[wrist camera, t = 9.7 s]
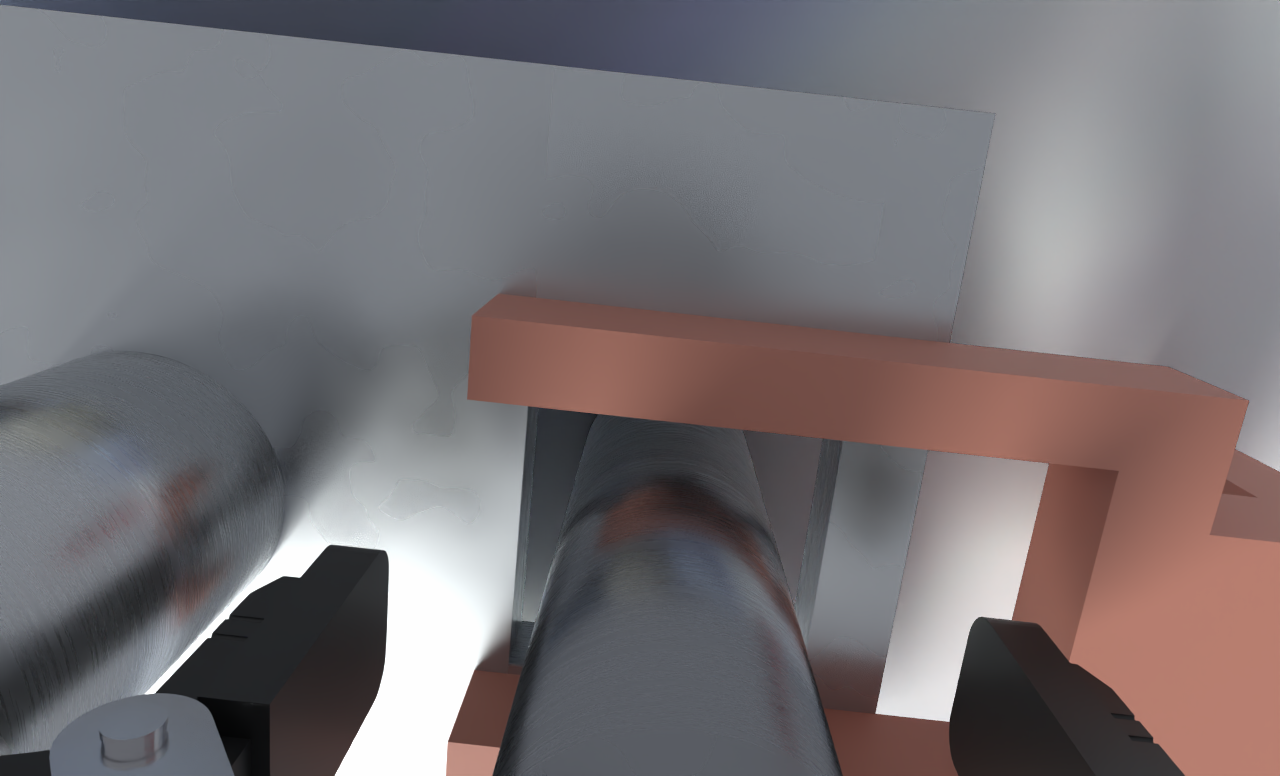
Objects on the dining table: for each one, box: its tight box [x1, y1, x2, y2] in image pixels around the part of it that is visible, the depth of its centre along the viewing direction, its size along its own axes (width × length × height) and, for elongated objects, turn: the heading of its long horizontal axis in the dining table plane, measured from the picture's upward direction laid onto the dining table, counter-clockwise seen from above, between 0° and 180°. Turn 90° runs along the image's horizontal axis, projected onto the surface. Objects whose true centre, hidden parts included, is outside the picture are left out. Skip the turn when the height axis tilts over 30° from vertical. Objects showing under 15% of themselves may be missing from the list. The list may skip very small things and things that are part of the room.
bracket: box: [446, 294, 1280, 776], centre depth 16 cm, size 14×8×6 cm, turn 84°
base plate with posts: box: [0, 5, 995, 776], centre depth 14 cm, size 20×15×11 cm
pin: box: [492, 414, 843, 776], centre depth 14 cm, size 4×4×12 cm
